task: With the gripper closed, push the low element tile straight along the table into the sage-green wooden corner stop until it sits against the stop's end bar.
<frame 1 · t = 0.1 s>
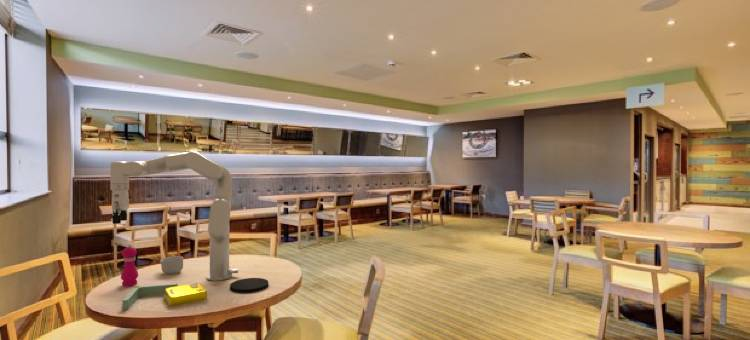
hand: (120, 221, 184), 31 cm above the table, tool pointing down, fingers open, 9 cm apart
pepper mill: (129, 285, 186), on the table
corner stop: (154, 301, 165), on the table
wireless charger: (249, 287, 185), on the table
element tile: (185, 299, 169), on the table
teacup: (170, 272, 207), on the table
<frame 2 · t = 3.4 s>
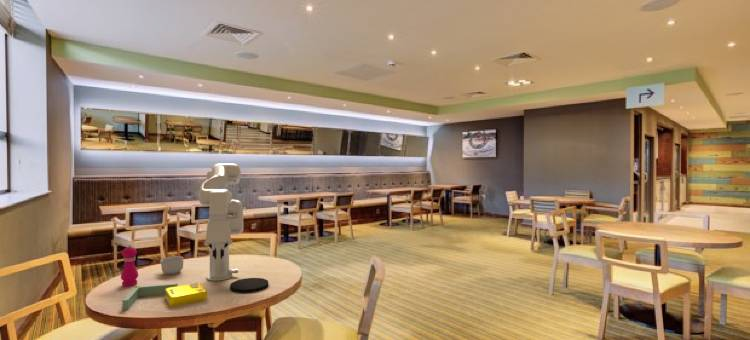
hand: (218, 257, 172), 17 cm above the table, tool pointing down, fingers closed
nothing on the table moved.
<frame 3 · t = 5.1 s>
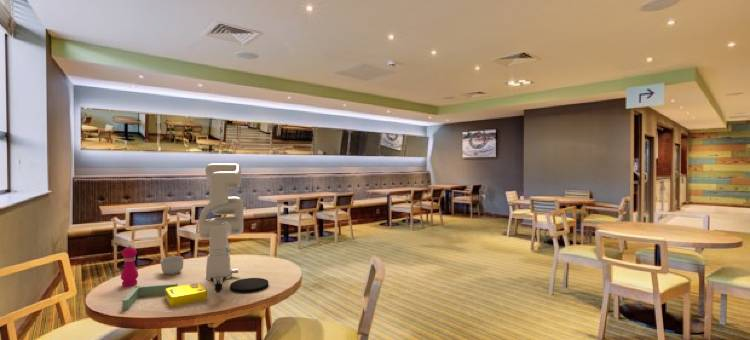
hand: (218, 291, 173), 2 cm above the table, tool pointing down, fingers closed
nothing on the table moved.
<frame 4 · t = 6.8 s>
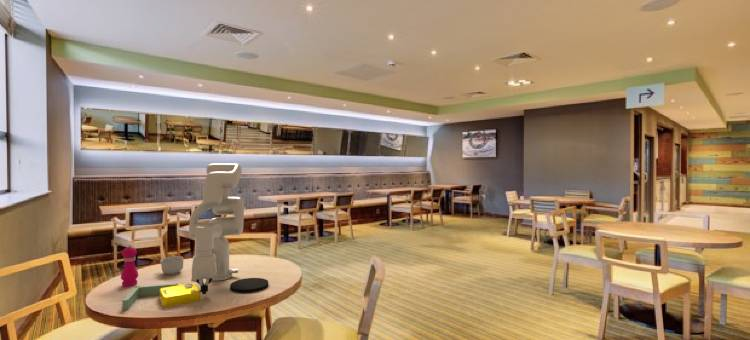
hand: (204, 293, 171), 1 cm above the table, tool pointing down, fingers closed
element tile: (179, 299, 168), on the table, touching gripper
everything else where it was.
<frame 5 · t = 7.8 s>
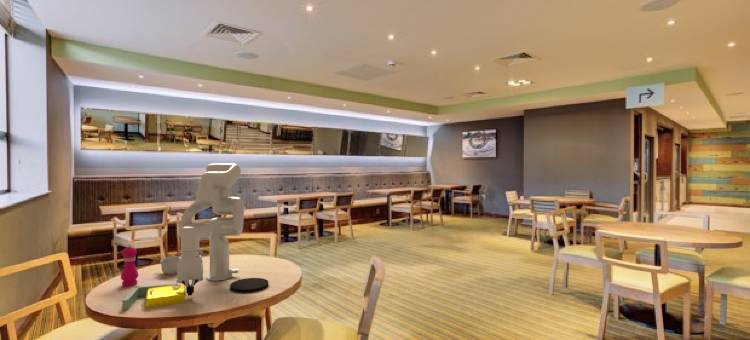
hand: (190, 294, 169), 1 cm above the table, tool pointing down, fingers closed
element tile: (166, 301, 166), on the table, touching corner stop, gripper
everything else where it was.
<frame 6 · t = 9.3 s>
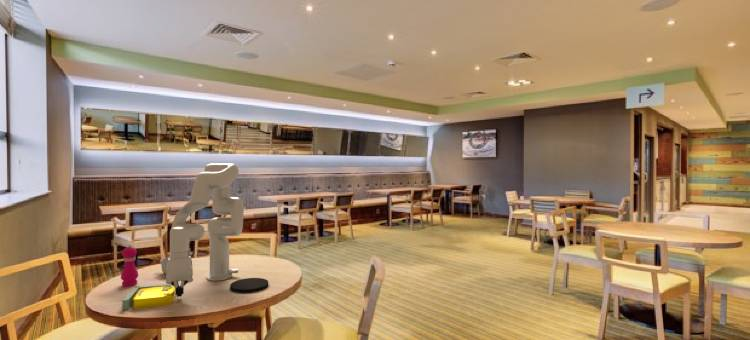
hand: (179, 295, 168), 1 cm above the table, tool pointing down, fingers closed
element tile: (155, 302, 165), on the table
everything else where it was.
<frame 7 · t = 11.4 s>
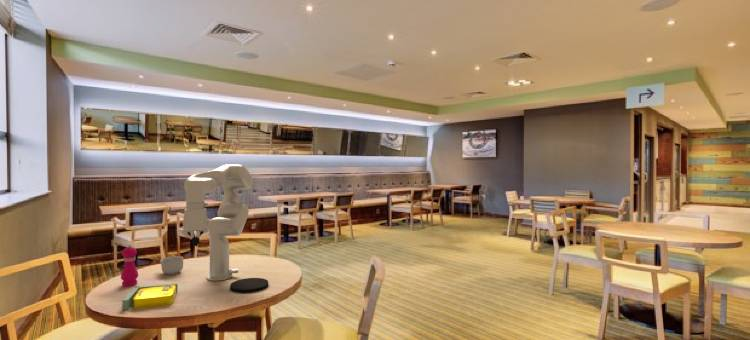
hand: (195, 245, 174), 22 cm above the table, tool pointing down, fingers closed
nothing on the table moved.
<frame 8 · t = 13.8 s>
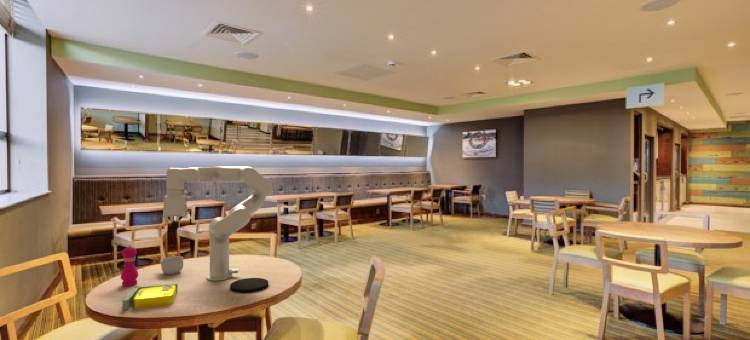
hand: (175, 229, 187), 27 cm above the table, tool pointing down, fingers closed
nothing on the table moved.
at the end: element tile inside the target area on the corner stop (0.6 cm from its centre), point -0.7 cm above the corner stop's base; element tile moved 12.1 cm from its start; the gripper is holding nothing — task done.
